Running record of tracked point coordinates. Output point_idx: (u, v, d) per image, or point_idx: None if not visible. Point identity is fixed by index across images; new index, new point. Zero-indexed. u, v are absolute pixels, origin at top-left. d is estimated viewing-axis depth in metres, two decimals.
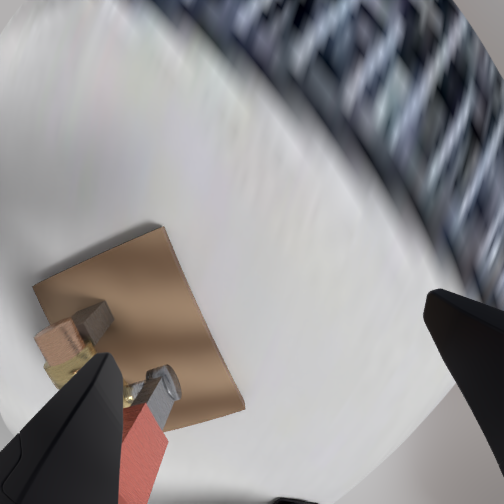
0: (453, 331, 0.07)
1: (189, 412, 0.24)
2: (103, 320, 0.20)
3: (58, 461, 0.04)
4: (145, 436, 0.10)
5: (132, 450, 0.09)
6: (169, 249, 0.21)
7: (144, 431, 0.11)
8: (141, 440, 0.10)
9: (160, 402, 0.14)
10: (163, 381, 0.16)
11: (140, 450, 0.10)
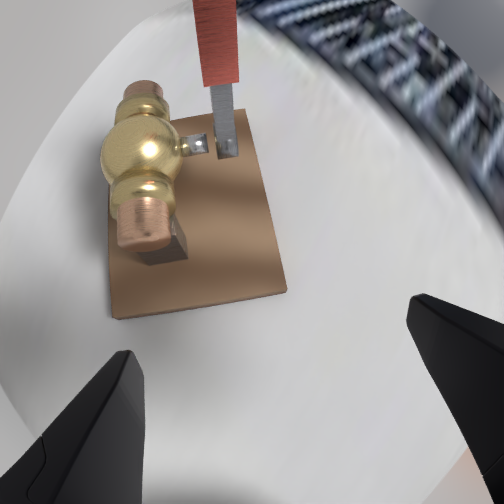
0: (435, 338, 0.07)
1: (216, 280, 0.21)
2: None
3: (85, 464, 0.04)
4: None
5: None
6: None
7: None
8: None
9: None
10: None
11: None
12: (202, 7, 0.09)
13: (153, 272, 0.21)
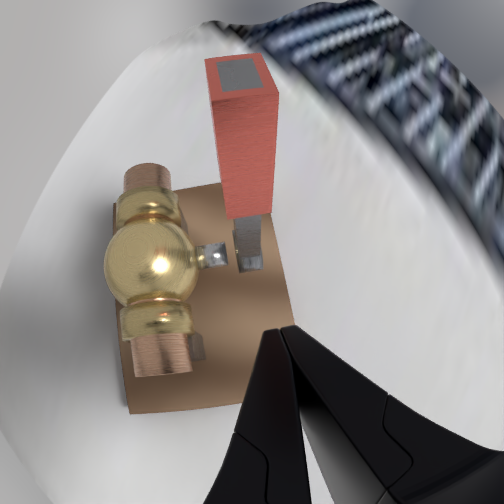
0: None
1: (235, 382, 0.19)
2: (184, 227, 0.21)
3: None
4: None
5: None
6: None
7: None
8: None
9: None
10: None
11: None
12: (228, 133, 0.08)
13: None
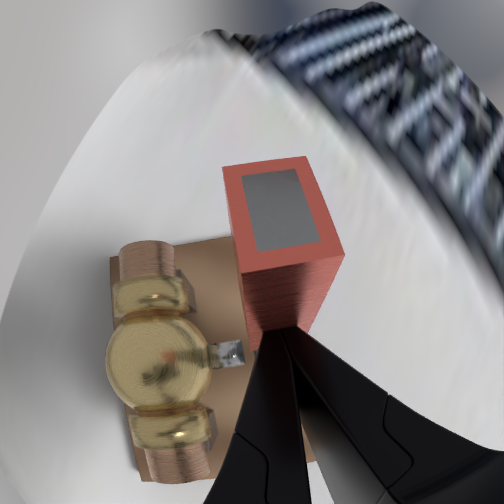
0: None
1: None
2: (191, 297, 0.19)
3: None
4: None
5: None
6: None
7: None
8: None
9: None
10: None
11: None
12: (263, 299, 0.06)
13: None
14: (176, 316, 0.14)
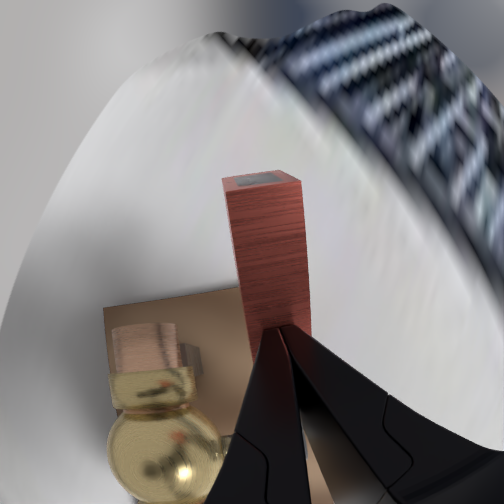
0: None
1: None
2: (197, 363, 0.16)
3: None
4: None
5: None
6: None
7: None
8: None
9: None
10: None
11: None
12: (248, 240, 0.07)
13: None
14: (184, 411, 0.11)
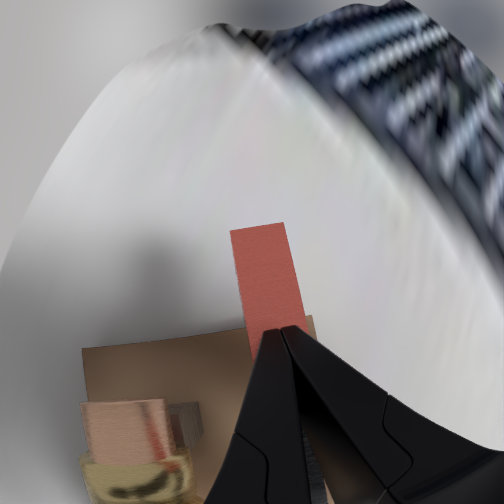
0: None
1: None
2: (195, 426, 0.12)
3: None
4: None
5: None
6: None
7: None
8: None
9: None
10: None
11: None
12: (247, 264, 0.09)
13: None
14: None
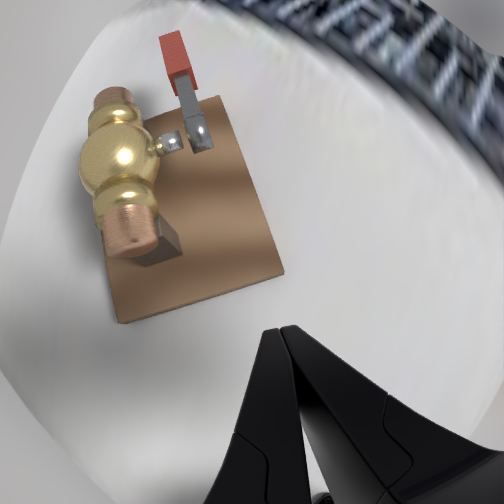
0: None
1: (213, 272, 0.21)
2: None
3: None
4: None
5: None
6: None
7: None
8: None
9: None
10: None
11: None
12: (164, 42, 0.19)
13: (151, 272, 0.21)
14: None
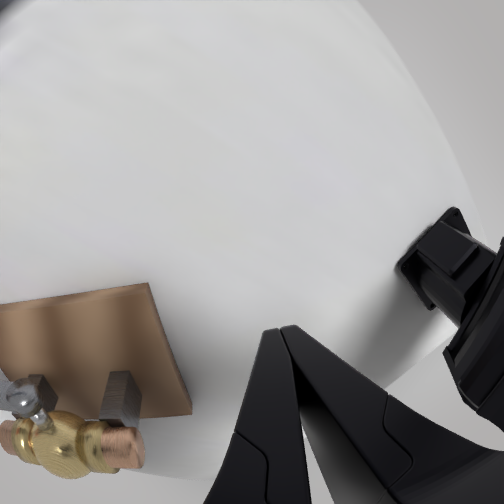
0: None
1: (145, 351, 0.20)
2: None
3: None
4: None
5: None
6: None
7: None
8: None
9: None
10: (12, 385, 0.13)
11: None
12: None
13: (147, 392, 0.21)
14: (30, 440, 0.14)
